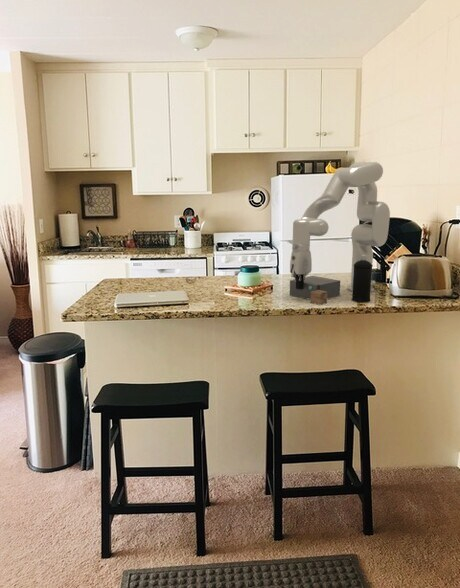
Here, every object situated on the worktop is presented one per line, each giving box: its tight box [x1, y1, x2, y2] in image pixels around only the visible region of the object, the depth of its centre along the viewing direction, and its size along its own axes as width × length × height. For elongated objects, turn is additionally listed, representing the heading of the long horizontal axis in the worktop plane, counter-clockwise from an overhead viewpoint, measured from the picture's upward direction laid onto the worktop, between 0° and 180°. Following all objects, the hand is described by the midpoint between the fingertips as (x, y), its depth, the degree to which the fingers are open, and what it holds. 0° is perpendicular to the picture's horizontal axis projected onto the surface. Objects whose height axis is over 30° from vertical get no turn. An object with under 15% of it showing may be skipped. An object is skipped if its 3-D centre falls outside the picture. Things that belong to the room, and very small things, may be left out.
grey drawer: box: [289, 279, 318, 300], centre depth 236 cm, size 16×15×7 cm
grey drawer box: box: [292, 275, 341, 299], centre depth 238 cm, size 15×16×7 cm
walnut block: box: [309, 290, 328, 305], centre depth 223 cm, size 5×5×5 cm
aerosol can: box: [351, 255, 374, 303], centre depth 226 cm, size 8×8×20 cm
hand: (299, 288), depth 230 cm, fingers closed
